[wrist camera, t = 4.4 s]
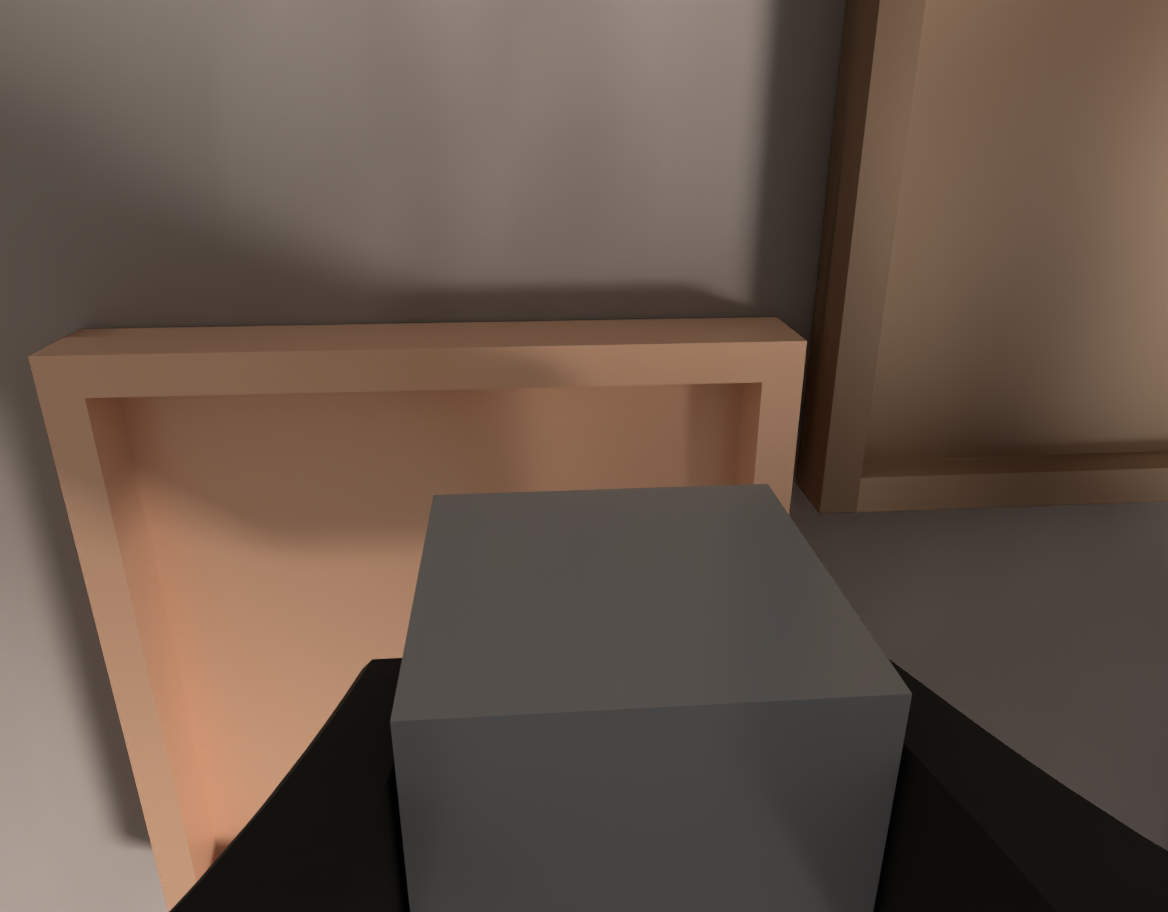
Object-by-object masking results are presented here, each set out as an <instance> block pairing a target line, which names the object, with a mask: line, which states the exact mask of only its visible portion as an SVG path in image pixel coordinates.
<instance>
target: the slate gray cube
mask: <svg viewBox="0 0 1168 912" xmlns="http://www.w3.org/2000/svg"><path fill="white" fill-rule="evenodd" d="M911 698H912V693H911V691H910V690H909V688H908V687H907V685H906V684H905V683H904V681H903V680H902V678H901V677H900V675H899V674H898V672H897V671H896V669H895V668H894V667H893V665H892V664H891V662H890V661H889V659H888V658H887V656H886V655H885V653H884V652H883V651H882V649H881V648H880V646H879V645H878V643H877V642H876V640H875V639H874V638H873V636H872V635H871V633H870V632H869V630H868V629H867V627H866V626H865V624H864V623H863V622H862V620H861V619H860V617H859V616H858V614H857V613H856V611H855V610H854V608H853V607H852V606H851V604H850V603H849V601H848V600H847V598H846V597H845V595H844V594H843V592H842V591H841V590H840V588H839V587H838V585H837V584H836V582H835V581H834V579H833V578H832V576H831V575H830V574H829V572H828V571H827V569H826V568H825V566H824V565H823V563H822V562H821V560H820V559H819V558H818V556H817V555H816V553H815V552H814V550H813V549H812V547H811V546H810V544H809V543H808V542H807V540H806V539H805V537H804V536H803V534H802V533H801V531H800V530H799V528H798V527H797V526H796V524H795V523H794V521H793V520H792V518H791V517H790V515H789V514H788V512H787V511H786V510H785V508H784V507H783V505H782V504H781V502H780V501H779V499H778V498H777V496H776V495H775V494H774V492H773V491H772V489H771V488H770V486H769V485H768V484H747V485H717V486H687V487H657V488H627V489H597V490H567V491H538V492H508V493H478V494H448V495H433V499H432V505H431V510H430V515H429V520H428V526H427V531H426V536H425V541H424V547H423V552H422V557H421V562H420V567H419V573H418V578H417V583H416V588H415V594H414V599H413V604H412V609H411V615H410V620H409V625H408V630H407V636H406V641H405V646H404V651H403V657H402V662H401V667H400V672H399V678H398V683H397V688H396V693H395V699H394V704H393V709H392V714H391V720H390V725H391V735H392V744H393V754H394V763H395V773H396V782H397V792H398V801H399V811H400V820H401V830H402V840H403V849H404V859H405V868H406V878H407V887H408V897H409V906H410V912H873V910H874V905H875V899H876V894H877V888H878V882H879V877H880V871H881V866H882V860H883V854H884V849H885V843H886V838H887V832H888V826H889V821H890V815H891V810H892V804H893V798H894V793H895V787H896V782H897V776H898V770H899V765H900V759H901V754H902V748H903V742H904V737H905V731H906V726H907V720H908V714H909V709H910V703H911Z"/></svg>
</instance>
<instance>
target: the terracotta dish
mask: <svg viewBox="0 0 1168 912" xmlns="http://www.w3.org/2000/svg"><path fill="white" fill-rule="evenodd" d="M806 346H807V341H806V340H805V339H804V338H803V337H801V336H800V335H799V334H798V333H796V332H795V331H794V330H793V329H791V328H790V327H789V326H787V325H786V324H785V323H784V322H782V321H781V320H780V319H779V318H777V317H745V318H687V319H630V320H573V321H516V322H458V323H401V324H344V325H287V326H229V327H172V328H115V329H79V330H77V331H75V332H73V333H72V334H70V335H68V336H66V337H64V338H62V339H60V340H58V341H56V342H54V343H52V344H50V345H49V346H47V347H45V348H43V349H41V350H39V351H37V352H35V353H33V354H31V355H29V356H28V359H29V363H30V367H31V371H32V375H33V379H34V383H35V387H36V391H37V395H38V399H39V403H40V407H41V411H42V415H43V419H44V423H45V426H46V430H47V434H48V438H49V442H50V446H51V450H52V454H53V458H54V462H55V466H56V470H57V474H58V478H59V482H60V486H61V490H62V494H63V498H64V502H65V506H66V510H67V513H68V517H69V521H70V525H71V529H72V533H73V537H74V541H75V545H76V549H77V553H78V557H79V561H80V565H81V569H82V573H83V577H84V581H85V585H86V589H87V593H88V597H89V600H90V604H91V608H92V612H93V616H94V620H95V624H96V628H97V632H98V636H99V640H100V644H101V648H102V652H103V656H104V660H105V664H106V668H107V672H108V676H109V680H110V683H111V687H112V691H113V695H114V699H115V703H116V707H117V711H118V715H119V719H120V723H121V727H122V731H123V735H124V739H125V743H126V747H127V751H128V755H129V759H130V763H131V767H132V770H133V774H134V778H135V782H136V786H137V790H138V794H139V798H140V802H141V806H142V810H143V814H144V818H145V822H146V826H147V830H148V834H149V838H150V842H151V846H152V850H153V853H154V857H155V861H156V865H157V869H158V873H159V877H160V881H161V885H162V889H163V893H164V897H165V901H166V905H167V909H168V912H169V911H170V910H171V909H172V908H173V907H174V906H175V905H176V904H177V903H178V902H179V901H180V900H181V899H182V897H183V896H184V895H185V894H186V893H187V892H188V891H189V890H190V889H191V888H192V887H193V885H194V884H195V883H196V882H197V881H198V880H199V879H200V878H201V876H202V875H203V874H204V873H205V872H206V871H207V869H208V868H209V867H210V866H211V865H212V864H213V863H214V861H215V860H216V859H217V858H218V857H219V856H220V854H221V853H222V852H223V851H224V850H225V849H226V847H227V846H228V845H229V844H230V843H231V842H232V841H233V839H234V838H235V837H236V836H237V835H238V834H239V832H240V831H241V830H242V829H243V828H244V827H245V826H246V824H247V823H248V822H249V821H250V820H251V819H252V817H253V816H254V815H255V814H256V813H257V811H258V810H259V809H260V808H261V806H262V805H263V804H264V803H265V801H266V800H267V799H268V798H269V796H270V795H271V794H272V792H273V791H274V790H275V789H276V787H277V786H278V785H279V783H280V782H281V781H282V780H283V778H284V777H285V776H286V774H287V773H288V772H289V771H290V769H291V768H292V767H293V765H294V764H295V763H296V762H297V760H298V759H299V758H300V756H301V755H302V754H303V753H304V751H305V750H306V749H307V747H308V746H309V745H310V743H311V742H312V741H313V739H314V738H315V736H316V735H317V734H318V732H319V731H320V730H321V728H322V727H323V725H324V724H325V723H326V721H327V720H328V718H329V717H330V716H331V714H332V713H333V711H334V710H335V709H336V707H337V706H338V704H339V703H340V701H341V700H342V698H343V697H344V696H345V694H346V693H347V691H348V690H349V688H350V687H351V685H352V684H353V682H354V681H355V679H356V678H357V676H358V675H359V673H360V672H361V670H362V669H363V668H364V667H365V666H366V665H367V664H368V663H369V662H370V661H371V660H372V659H388V658H402V657H403V651H404V646H405V641H406V636H407V630H408V625H409V620H410V615H411V609H412V604H413V599H414V594H415V588H416V583H417V578H418V573H419V567H420V562H421V557H422V552H423V547H424V541H425V536H426V531H427V526H428V520H429V515H430V510H431V505H432V499H433V495H448V494H478V493H508V492H538V491H567V490H597V489H627V488H657V487H687V486H717V485H747V484H768V485H769V486H770V488H771V489H772V491H773V492H774V494H775V495H776V496H777V498H778V499H779V501H780V502H781V504H782V505H783V507H784V508H785V510H786V511H787V512H788V514H789V512H790V502H791V493H792V483H793V473H794V463H795V454H796V444H797V434H798V424H799V415H800V405H801V395H802V385H803V376H804V366H805V356H806Z"/></svg>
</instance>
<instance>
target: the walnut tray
mask: <svg viewBox="0 0 1168 912" xmlns="http://www.w3.org/2000/svg"><path fill="white" fill-rule="evenodd" d="M796 483H797V485H798V486H799V487H800V489H801V490H802V491H803V493H804V494H805V495H806V496H807V498H808V499H809V500H810V502H811V503H812V504H813V506H814V507H815V508H816V510H817V511H818V512H819V514H826V513H854V512H883V511H911V510H939V509H968V508H996V507H1024V506H1053V505H1081V504H1110V503H1138V502H1166V501H1168V0H847V2H846V11H845V21H844V31H843V40H842V50H841V59H840V69H839V78H838V88H837V98H836V107H835V117H834V126H833V136H832V145H831V155H830V164H829V174H828V184H827V193H826V203H825V212H824V222H823V231H822V241H821V251H820V260H819V270H818V279H817V289H816V298H815V308H814V318H813V327H812V337H811V346H810V356H809V365H808V375H807V385H806V394H805V404H804V413H803V423H802V432H801V442H800V452H799V461H798V471H797V480H796Z"/></svg>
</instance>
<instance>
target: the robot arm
mask: <svg viewBox="0 0 1168 912" xmlns="http://www.w3.org/2000/svg"><path fill="white" fill-rule="evenodd" d="M889 661H890V662H891V664H892V665H893V667H894V668H895V669H896V671H897V672H898V674H899V675H900V677H901V678H902V680H903V681H904V683H905V684H906V685H907V687H908V688H909V690H910V691H911V693H912V698H911V703H910V709H909V714H908V720H907V726H906V731H905V737H904V742H903V748H902V754H901V759H900V765H899V770H898V776H897V782H896V787H895V793H894V798H893V804H892V810H891V815H890V821H889V826H888V832H887V838H886V843H885V849H884V854H883V860H882V866H881V871H880V877H879V882H878V888H877V894H876V899H875V905H874V910H873V912H1168V851H1166V850H1165V849H1163V848H1161V847H1160V846H1158V845H1157V844H1155V843H1153V842H1152V841H1150V840H1148V839H1147V838H1145V837H1143V836H1142V835H1140V834H1138V833H1137V832H1135V831H1134V830H1132V829H1130V828H1129V827H1127V826H1126V825H1124V824H1123V823H1121V822H1120V821H1118V820H1117V819H1115V818H1114V817H1112V816H1110V815H1109V814H1107V813H1106V812H1104V811H1103V810H1101V809H1100V808H1098V807H1097V806H1095V805H1094V804H1092V803H1090V802H1089V801H1087V800H1086V799H1084V798H1083V797H1081V796H1080V795H1078V794H1077V793H1075V792H1073V791H1072V790H1070V789H1069V788H1067V787H1066V786H1064V785H1063V784H1061V783H1060V782H1058V781H1057V780H1055V779H1054V778H1053V777H1051V776H1050V775H1048V774H1047V773H1045V772H1044V771H1042V770H1041V769H1039V768H1038V767H1036V766H1035V765H1034V764H1032V763H1031V762H1029V761H1028V760H1026V759H1025V758H1023V757H1022V756H1021V755H1019V754H1018V753H1016V752H1015V751H1014V750H1012V749H1011V748H1009V747H1008V746H1006V745H1005V744H1004V743H1002V742H1001V741H999V740H998V739H997V738H995V737H994V736H992V735H991V734H990V733H988V732H987V731H986V730H984V729H983V728H981V727H980V726H979V725H977V724H976V723H975V722H973V721H972V720H970V719H969V718H968V717H966V716H965V715H964V714H962V713H961V712H959V711H958V710H957V709H955V708H954V707H953V706H951V705H950V704H949V703H947V702H946V701H945V700H943V699H942V698H941V697H939V696H938V695H937V694H935V693H934V692H932V691H931V690H930V689H928V688H927V687H926V686H924V685H923V684H922V683H920V682H919V681H918V680H916V679H915V678H914V677H912V676H911V675H910V674H908V673H907V672H906V671H904V670H903V669H902V668H900V667H899V666H897V665H896V664H895V663H893V662H892V661H891V660H889ZM401 662H402V658H388V659H372V660H371V661H370V662H369V663H368V664H367V665H366V666H365V667H364V668H363V669H362V670H361V672H360V673H359V675H358V676H357V678H356V679H355V681H354V682H353V684H352V685H351V687H350V688H349V690H348V691H347V693H346V694H345V696H344V697H343V698H342V700H341V701H340V703H339V704H338V706H337V707H336V709H335V710H334V711H333V713H332V714H331V716H330V717H329V718H328V720H327V721H326V723H325V724H324V725H323V727H322V728H321V730H320V731H319V732H318V734H317V735H316V736H315V738H314V739H313V741H312V742H311V743H310V745H309V746H308V747H307V749H306V750H305V751H304V753H303V754H302V755H301V756H300V758H299V759H298V760H297V762H296V763H295V764H294V765H293V767H292V768H291V769H290V771H289V772H288V773H287V774H286V776H285V777H284V778H283V780H282V781H281V782H280V783H279V785H278V786H277V787H276V789H275V790H274V791H273V792H272V794H271V795H270V796H269V798H268V799H267V800H266V801H265V803H264V804H263V805H262V806H261V808H260V809H259V810H258V811H257V813H256V814H255V815H254V816H253V817H252V819H251V820H250V821H249V822H248V823H247V824H246V826H245V827H244V828H243V829H242V830H241V831H240V832H239V834H238V835H237V836H236V837H235V838H234V839H233V841H232V842H231V843H230V844H229V845H228V846H227V847H226V849H225V850H224V851H223V852H222V853H221V854H220V856H219V857H218V858H217V859H216V860H215V861H214V863H213V864H212V865H211V866H210V867H209V868H208V869H207V871H206V872H205V873H204V874H203V875H202V876H201V878H200V879H199V880H198V881H197V882H196V883H195V884H194V885H193V887H192V888H191V889H190V890H189V891H188V892H187V893H186V894H185V895H184V896H183V897H182V899H181V900H180V901H179V902H178V903H177V904H176V905H175V906H174V907H173V908H172V909H171V910H170V911H169V912H410V906H409V897H408V887H407V878H406V868H405V859H404V849H403V840H402V830H401V820H400V811H399V801H398V792H397V782H396V773H395V763H394V754H393V744H392V735H391V725H390V720H391V714H392V709H393V704H394V699H395V693H396V688H397V683H398V678H399V672H400V667H401Z"/></svg>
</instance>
